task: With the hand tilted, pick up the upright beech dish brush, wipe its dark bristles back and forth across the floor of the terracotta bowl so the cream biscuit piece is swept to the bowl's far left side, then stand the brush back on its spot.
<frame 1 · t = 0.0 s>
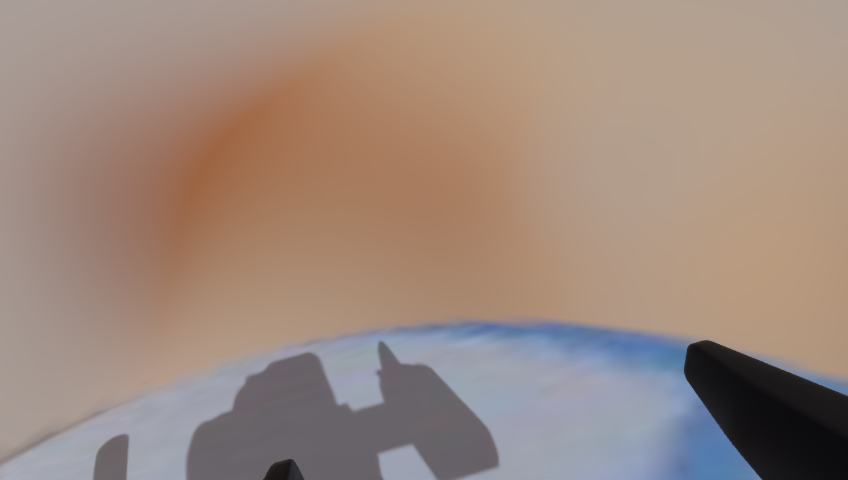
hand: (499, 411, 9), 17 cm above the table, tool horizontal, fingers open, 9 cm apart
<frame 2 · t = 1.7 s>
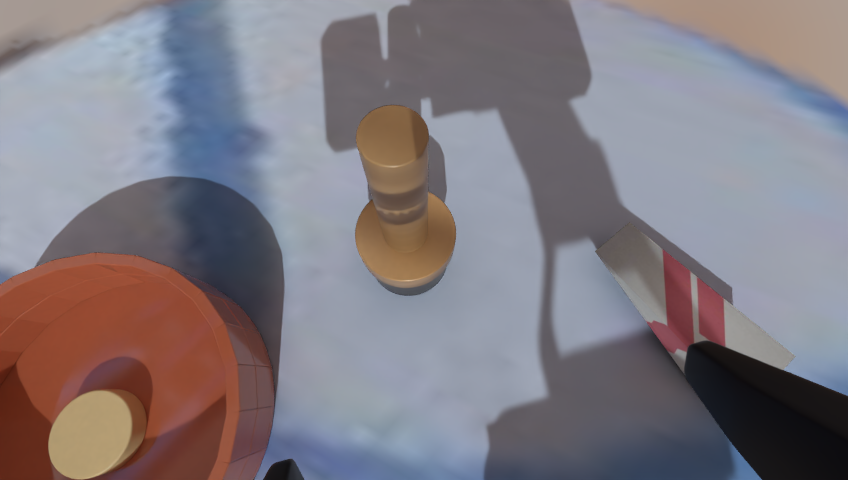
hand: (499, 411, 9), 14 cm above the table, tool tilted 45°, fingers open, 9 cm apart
terracotta bowl: (131, 414, 22), on the table
paintbrush: (731, 385, 22), on the table
dish brush: (409, 257, 25), on the table
biscuit piece: (107, 430, 21), resting on terracotta bowl
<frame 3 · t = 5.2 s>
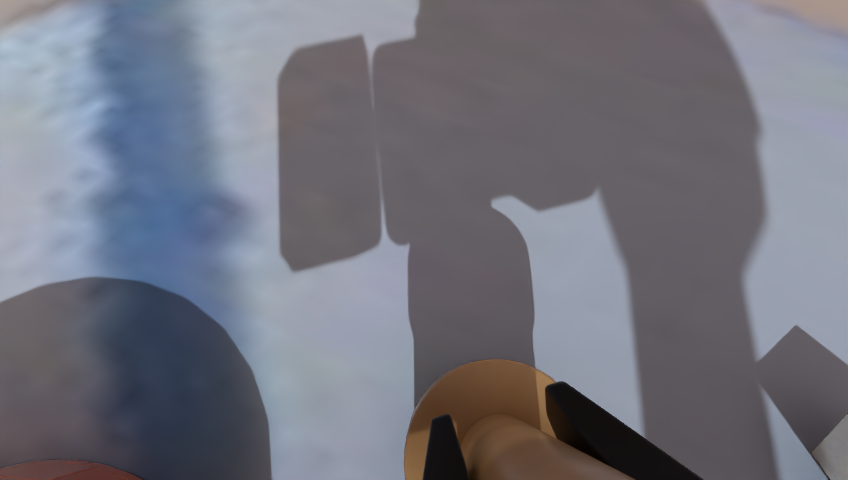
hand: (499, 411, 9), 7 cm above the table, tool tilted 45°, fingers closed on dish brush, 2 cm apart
dish brush: (478, 433, 15), on the table, touching gripper
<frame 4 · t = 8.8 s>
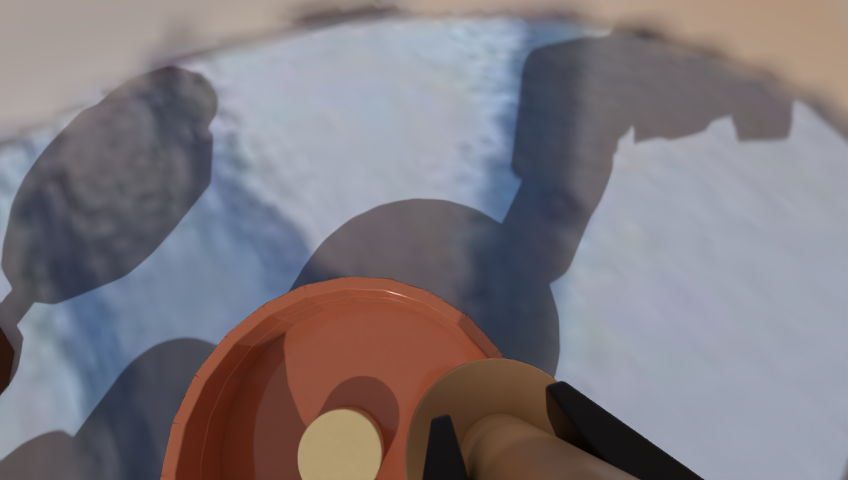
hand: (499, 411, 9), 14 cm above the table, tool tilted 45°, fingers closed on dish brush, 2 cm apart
terracotta bowl: (365, 441, 21), on the table
dish brush: (479, 433, 15), point 7 cm above the table, touching gripper
biscuit piece: (344, 449, 21), resting on terracotta bowl
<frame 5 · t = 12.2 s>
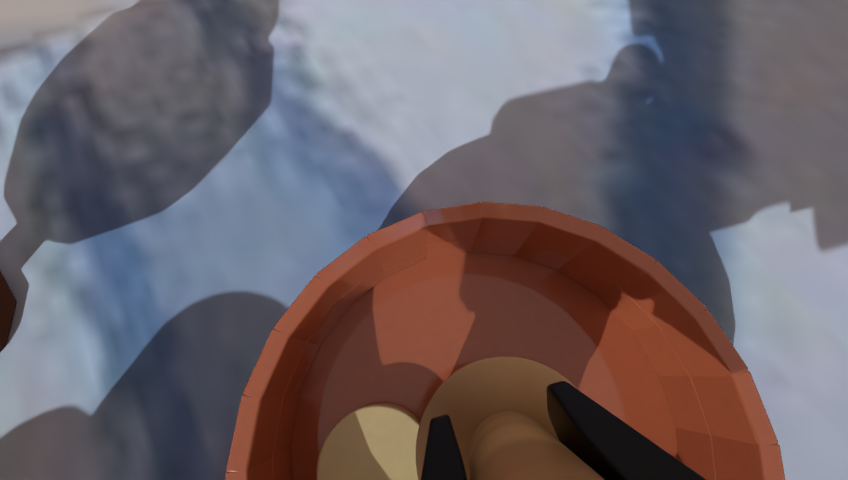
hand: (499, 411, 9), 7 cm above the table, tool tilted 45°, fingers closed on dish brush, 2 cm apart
terracotta bowl: (482, 434, 16), on the table
dish brush: (497, 428, 15), point 1 cm above the table, tilted 6°, touching biscuit piece, gripper
biscuit piece: (379, 462, 15), point 1 cm above the table, touching dish brush, terracotta bowl
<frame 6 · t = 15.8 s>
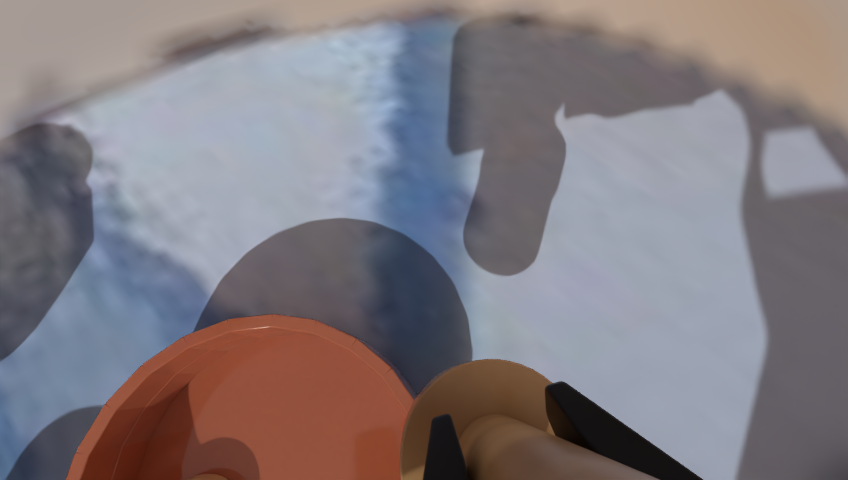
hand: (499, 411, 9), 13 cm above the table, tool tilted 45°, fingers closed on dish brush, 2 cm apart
terracotta bowl: (285, 479, 21), on the table
dish brush: (470, 434, 15), point 7 cm above the table, touching gripper
when the fingers open (7 cm above the table, at t = 19.1 s): dish brush stays where it is, on the table.
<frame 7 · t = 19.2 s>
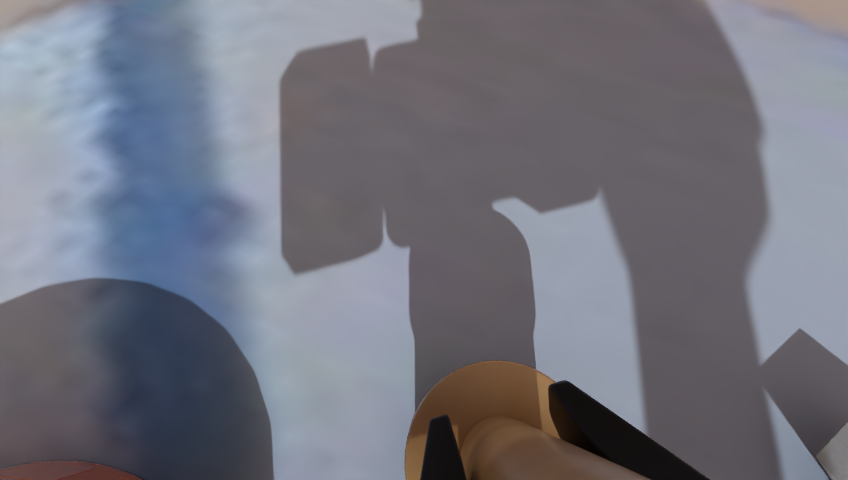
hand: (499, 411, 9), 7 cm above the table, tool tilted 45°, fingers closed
dish brush: (479, 437, 15), on the table
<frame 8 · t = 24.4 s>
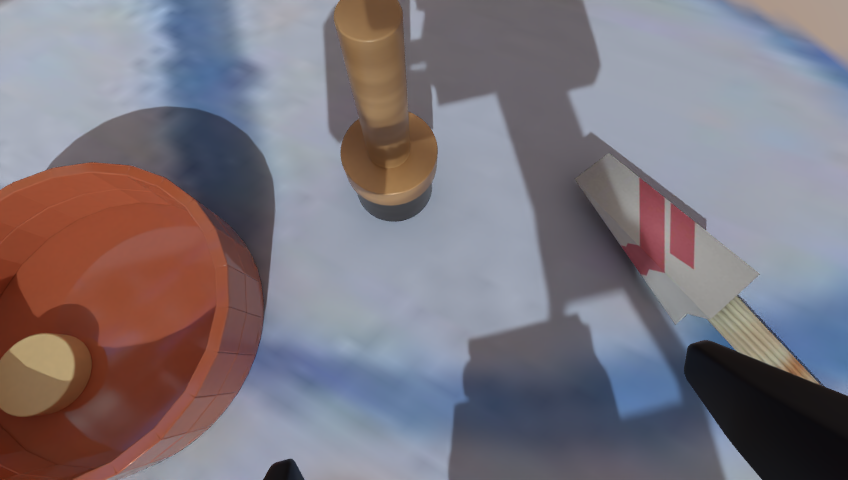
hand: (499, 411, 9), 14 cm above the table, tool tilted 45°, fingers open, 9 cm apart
terracotta bowl: (126, 324, 23), on the table
paintbrush: (700, 308, 23), on the table
dish brush: (394, 186, 25), on the table
biscuit piece: (53, 373, 22), resting on terracotta bowl
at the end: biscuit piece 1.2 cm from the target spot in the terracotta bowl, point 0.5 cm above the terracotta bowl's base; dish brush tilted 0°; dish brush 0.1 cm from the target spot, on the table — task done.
